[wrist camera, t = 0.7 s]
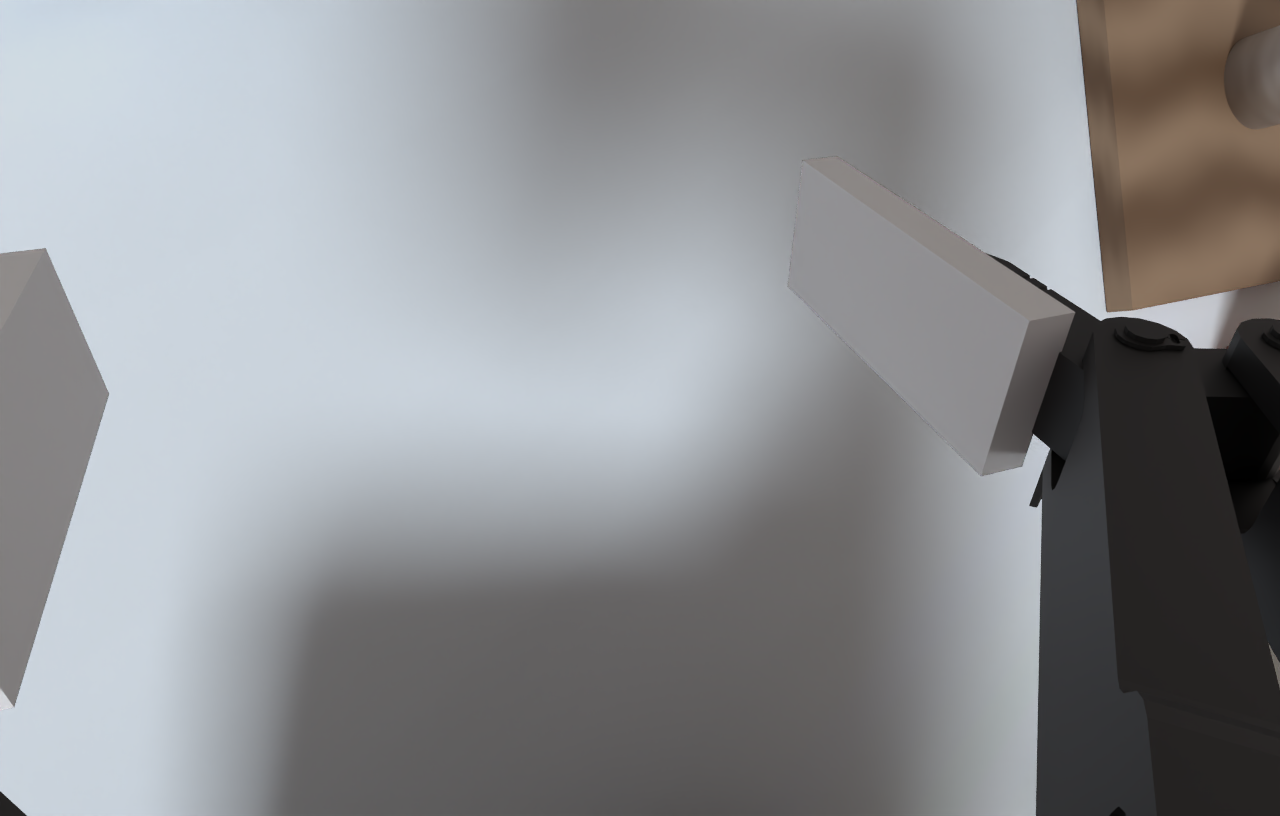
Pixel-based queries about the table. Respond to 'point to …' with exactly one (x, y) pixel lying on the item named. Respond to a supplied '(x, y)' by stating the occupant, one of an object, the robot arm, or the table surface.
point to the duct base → (1183, 145)
